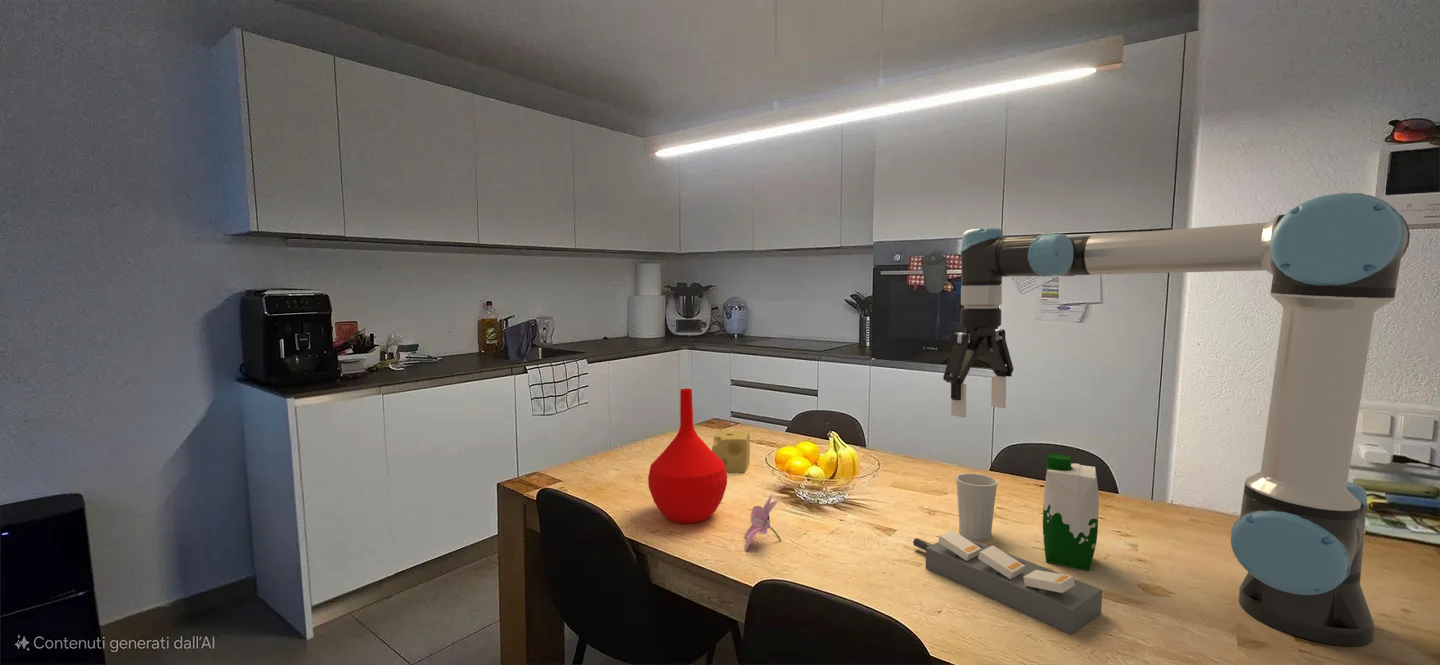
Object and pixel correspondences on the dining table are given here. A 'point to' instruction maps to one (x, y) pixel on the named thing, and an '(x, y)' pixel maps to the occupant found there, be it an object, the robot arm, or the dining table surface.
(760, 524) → the lily
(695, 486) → the vase
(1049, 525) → the milk carton
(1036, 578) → the rocker
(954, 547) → the rocker
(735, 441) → the cheese
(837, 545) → the dining table surface
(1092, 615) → the power strip
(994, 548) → the rocker
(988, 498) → the cup
